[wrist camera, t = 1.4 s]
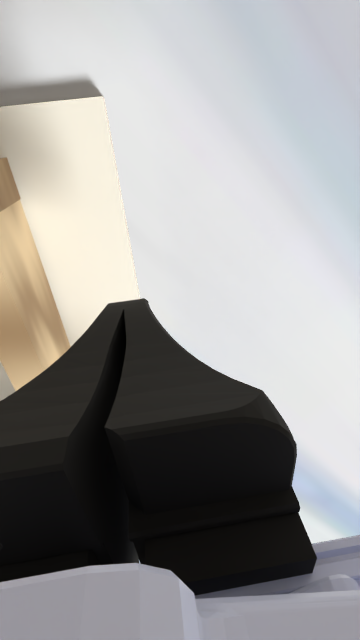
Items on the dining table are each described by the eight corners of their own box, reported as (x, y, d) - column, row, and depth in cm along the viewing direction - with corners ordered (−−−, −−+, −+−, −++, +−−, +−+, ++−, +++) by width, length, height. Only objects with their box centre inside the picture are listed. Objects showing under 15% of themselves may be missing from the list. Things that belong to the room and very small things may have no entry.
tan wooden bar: (77, 363, 18) (62, 423, 15) (49, 367, 18) (27, 429, 15) (6, 157, 13) (-47, 170, 9) (-34, 161, 13) (-105, 176, 9)
